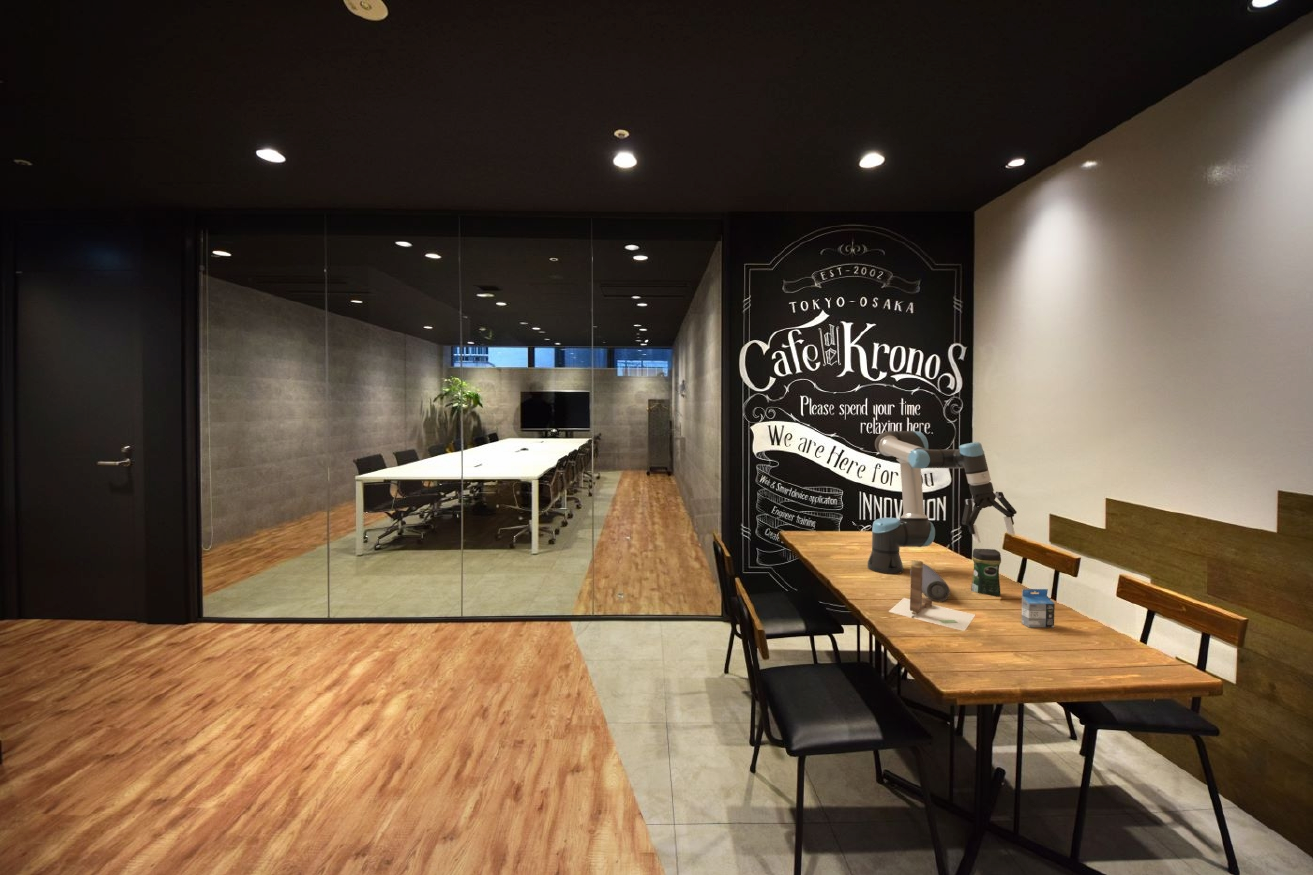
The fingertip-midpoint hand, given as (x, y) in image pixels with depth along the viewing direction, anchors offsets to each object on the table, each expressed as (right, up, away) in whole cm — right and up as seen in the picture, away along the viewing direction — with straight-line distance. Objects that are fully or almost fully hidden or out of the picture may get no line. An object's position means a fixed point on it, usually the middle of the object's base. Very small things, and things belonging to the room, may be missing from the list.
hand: (994, 538), depth 194 cm
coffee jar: (+5, -25, +13) cm, 29 cm away
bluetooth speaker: (-18, -25, +13) cm, 34 cm away
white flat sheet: (-29, -26, -10) cm, 40 cm away
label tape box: (+4, -27, -16) cm, 32 cm away
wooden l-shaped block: (-32, -25, -7) cm, 41 cm away
